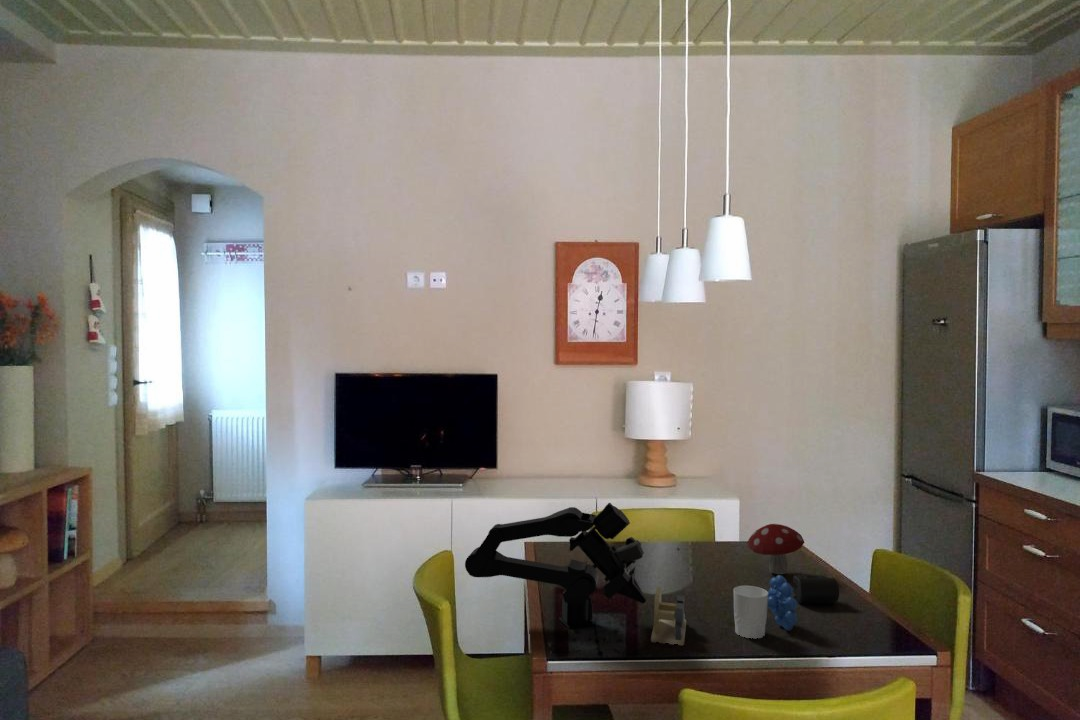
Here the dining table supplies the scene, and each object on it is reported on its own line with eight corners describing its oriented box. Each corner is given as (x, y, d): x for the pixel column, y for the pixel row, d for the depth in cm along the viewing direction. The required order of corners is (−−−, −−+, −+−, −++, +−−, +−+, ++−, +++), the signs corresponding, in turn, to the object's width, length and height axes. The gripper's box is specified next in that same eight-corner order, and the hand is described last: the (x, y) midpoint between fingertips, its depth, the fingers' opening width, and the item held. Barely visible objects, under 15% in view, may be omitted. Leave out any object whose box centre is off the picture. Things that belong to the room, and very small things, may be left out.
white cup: (747, 642, 167) (748, 599, 167) (725, 629, 175) (726, 587, 174) (774, 637, 170) (775, 594, 170) (752, 624, 178) (753, 583, 177)
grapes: (753, 618, 182) (754, 570, 181) (778, 616, 183) (780, 569, 183) (777, 637, 170) (778, 586, 170) (803, 635, 172) (805, 584, 171)
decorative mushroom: (802, 586, 205) (803, 533, 205) (743, 578, 211) (745, 527, 211) (804, 570, 220) (805, 520, 219) (749, 563, 226) (750, 514, 225)
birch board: (651, 641, 167) (651, 637, 167) (655, 620, 179) (655, 616, 179) (683, 645, 165) (683, 641, 165) (686, 623, 177) (686, 619, 177)
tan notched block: (653, 632, 169) (654, 597, 169) (656, 619, 177) (657, 586, 176) (673, 634, 168) (674, 599, 168) (675, 621, 176) (676, 588, 175)
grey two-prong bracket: (674, 639, 166) (674, 610, 166) (676, 619, 177) (677, 592, 177) (682, 640, 165) (682, 611, 165) (684, 620, 177) (685, 593, 177)
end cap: (800, 607, 190) (801, 581, 189) (790, 597, 197) (791, 572, 196) (839, 607, 190) (840, 582, 190) (827, 598, 197) (828, 573, 197)
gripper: (618, 540, 165) (667, 593, 163) (628, 520, 183) (672, 567, 181) (583, 572, 167) (631, 625, 165) (596, 549, 185) (639, 596, 183)
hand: (644, 601), depth 173 cm, fingers closed
